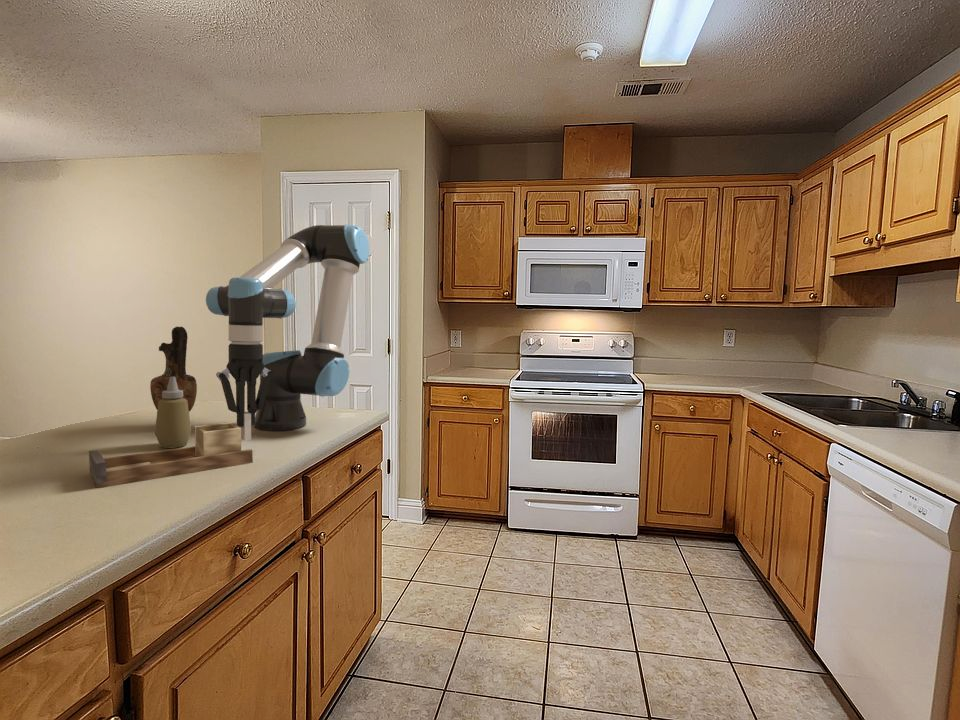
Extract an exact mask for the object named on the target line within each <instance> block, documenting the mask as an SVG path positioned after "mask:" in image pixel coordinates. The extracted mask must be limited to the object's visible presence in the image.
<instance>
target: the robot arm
mask: <svg viewBox="0 0 960 720" xmlns="http://www.w3.org/2000/svg"><path fill="white" fill-rule="evenodd" d="M369 258H370V244H369V239H368V236H367V234H366V232H365V231H364V230H363V228H362V227H360V226H358V225H350V224H344V225H341V224H339V225H338V224H337V225H332V224H331V225H324V224H323V225H322V224H319V225H318V224H317V225H312V226H309V227H306V228H303V229H301V230H299V231H297V232H295V233H294V234H292V235H291V236H289V237H287V238H286V239H284V240H283V242H282V243H281V244H280V248H278V249H277V250H276V251H274V252H273V253H271V254H270V255H269V256H267V257H266V258H265V259H263V260H261V261H260V262H259V263H257V264H256V265H254V266H253V267H252V268H251V269H249V270H247V271H246V272H244V274H242V275H240V276H239V277H232V278H230V279H229V280H228V284H227V285H226V286H223V285H219V286H214V287H212V288H210V289H209V290H208V291H207V293H206V295H205V303H206V307H207V309H208V310H209V312H210V313H212V314H213V315H219V316H224V317H228V341H229V342H231V343H229V344H228V362H227V364H226V368H225V369H223V370H222V371H218V372H216V373H215V375H216V378H217V379H218V380H219V381H220V383H221V386H222V387H221V388H222V390H223V394H224V398H225V401H226V405H227V410H228V411H231V412H232V413H236V426H238V427H240V428H241V440H242V441H244V442H245V441H251V440H252V426H253V427H254V428H255V429H257V430H262V431H289V430H290V431H291V430H297V429H301V428H304V427H305V426H306V425H307V415H306V413H305V410H304V409H305V408H304V407H303V403H302V399H301V395H309V396H311V395H312V396H318V397H335V396H337V395H339V394H340V393H341V392H342V391H343V390H344V389H345V387H346V385H347V383H348V381H349V377H350V368H349V367H350V366H349V363H348V361H347V360H346V359H344V358H345V353H344V352H343V350H342V348H341V347H342V341H343V340H342V339H343V334H344V329H345V322H346V318H347V311H348V305H349V300H350V296H351V295H350V294H351V288H352V283H353V276H354V275H356V274H357V273H358V272H360V265H364V264H365V263H367V262H368V261H369ZM314 263H315V264H316V263H320V265H321V266H322V267H323V269H324V272H323V279H322V282H321V290H320V293H319V300H318V304H317V310H316V316H315V321H314V326H313V327H314V328H313V330H312V331H313V333H312V338H311V343H310V344H309V345H307V346H306V347H304V350H303V351H304V352H303V354H302V351H301V350H300V349H298V350H297V349H296V350H285V351H274V352H266V353H265V352H264V351H263V350H264V347H263V346H264V345H263V344H262V342H263V341H264V336H263V335H264V333H263V329H264V327H263V326H264V325H263V323H264V322H263V321H264V319H285V318H289V317H290V316H291V315H293V313H294V312H295V311H296V307H297V306H296V304H297V302H296V298H295V296H294V295H293V293H292V292H290V291H289V290H286V289H282V288H274V287H275V286H277V285H279V284H280V283H281V282H282V281H283V280H284V279H286V278H287V277H288V276H289V275H291V274H292V273H293V272H295V270H297V269H301V268H304V267H306V266H307V265H309V264H314ZM263 352H264V353H263ZM230 375H231V377H232V378H233V379H234V380H235V382H234V383H235V396H234V394H233V390H232V386H231V383H230V382H231V381H230V380H229V379H230ZM258 378H259V381H260V382H259V386H258V391H257V390H256V387H257V379H258ZM245 388H246V389H245ZM245 391H246V392H245ZM256 391H257V394H256ZM245 395H246V397H245ZM245 398H246V399H245ZM245 400H246V401H245ZM245 403H246V404H245ZM245 405H246V408H245ZM245 409H246V410H247V411H245Z"/></svg>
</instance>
